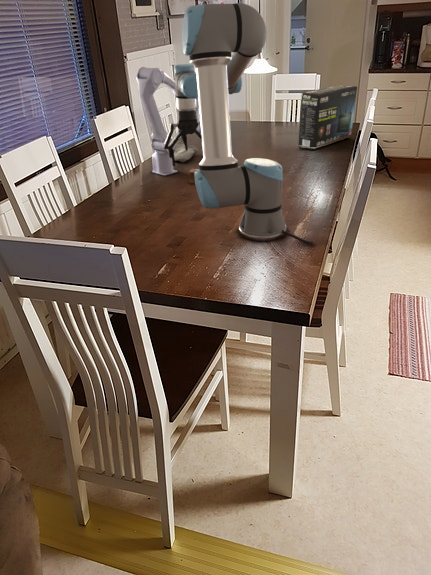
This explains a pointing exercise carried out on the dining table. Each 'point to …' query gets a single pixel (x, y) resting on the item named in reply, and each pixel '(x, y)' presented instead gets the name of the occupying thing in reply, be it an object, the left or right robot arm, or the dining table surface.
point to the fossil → (184, 152)
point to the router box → (326, 115)
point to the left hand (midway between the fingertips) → (194, 149)
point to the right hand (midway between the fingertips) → (190, 163)
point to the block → (192, 175)
